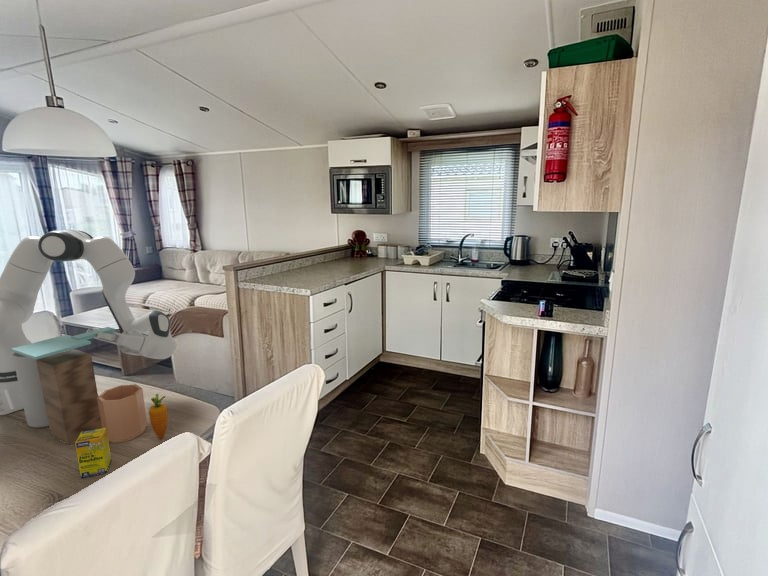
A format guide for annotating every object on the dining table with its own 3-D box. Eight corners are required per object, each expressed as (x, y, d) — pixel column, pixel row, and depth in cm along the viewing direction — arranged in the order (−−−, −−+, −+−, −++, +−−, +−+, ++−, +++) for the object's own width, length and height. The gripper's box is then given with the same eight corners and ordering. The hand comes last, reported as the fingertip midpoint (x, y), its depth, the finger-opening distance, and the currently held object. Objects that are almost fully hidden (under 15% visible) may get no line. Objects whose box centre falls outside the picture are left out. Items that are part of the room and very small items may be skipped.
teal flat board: (99, 328, 136) (99, 324, 136) (124, 334, 130) (123, 330, 130) (11, 351, 115) (10, 347, 115) (35, 359, 109) (35, 355, 109)
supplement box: (80, 479, 105) (74, 443, 103) (87, 466, 111) (80, 431, 108) (107, 473, 108) (101, 438, 105) (112, 460, 113) (106, 426, 111)
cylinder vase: (71, 422, 133) (58, 352, 127) (23, 432, 126) (7, 360, 121) (77, 405, 143) (65, 341, 138) (32, 415, 137) (18, 347, 132)
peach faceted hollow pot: (98, 444, 121) (91, 402, 118) (116, 424, 131) (110, 385, 128) (136, 441, 122) (130, 399, 119) (151, 421, 133) (146, 383, 130)
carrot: (158, 434, 126) (153, 391, 123) (173, 434, 126) (168, 391, 123) (149, 443, 121) (142, 398, 118) (165, 443, 121) (159, 399, 118)
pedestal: (86, 421, 133) (73, 348, 128) (103, 428, 129) (91, 354, 123) (51, 436, 125) (36, 359, 119) (68, 444, 120) (53, 365, 115)
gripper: (118, 328, 145) (79, 319, 133) (153, 337, 136) (114, 328, 124) (111, 345, 143) (71, 337, 132) (147, 355, 135) (106, 347, 123)
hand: (92, 333), depth 128 cm, fingers closed on teal flat board, 4 cm apart
